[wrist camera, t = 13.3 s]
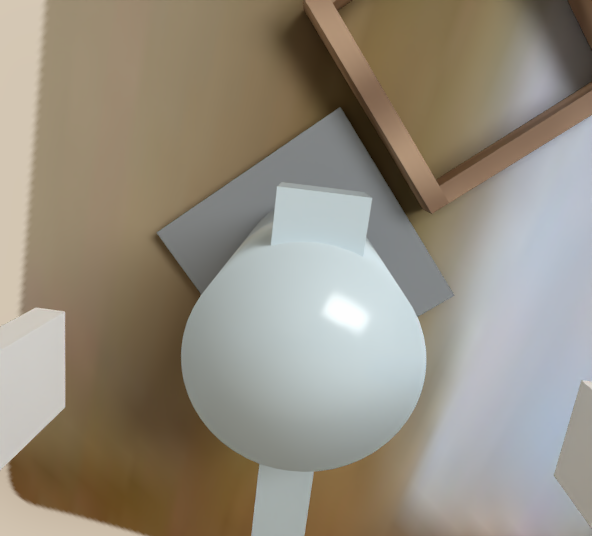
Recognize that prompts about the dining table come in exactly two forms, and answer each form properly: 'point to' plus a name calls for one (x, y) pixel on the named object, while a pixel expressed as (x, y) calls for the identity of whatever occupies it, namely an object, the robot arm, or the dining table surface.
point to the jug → (303, 349)
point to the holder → (428, 191)
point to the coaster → (315, 172)
